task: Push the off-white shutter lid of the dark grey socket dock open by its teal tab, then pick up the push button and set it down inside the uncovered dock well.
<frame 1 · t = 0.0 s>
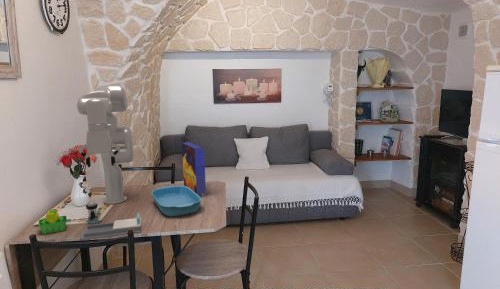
hand: (101, 165, 155), 31 cm above the table, tool pointing down, fingers open, 9 cm apart
fruit basket: (54, 231, 163), on the table
shutter lid: (127, 220, 163), point 4 cm above the table, slide at 0.0 cm
cereal box: (194, 192, 217), on the table
casserole dish: (176, 207, 192), on the table
dock: (127, 228, 164), on the table
push button: (95, 222, 172), on the table
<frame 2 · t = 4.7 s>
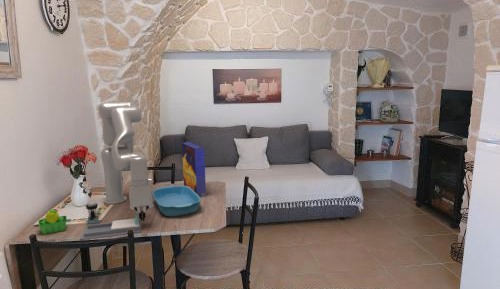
hand: (142, 219, 165), 4 cm above the table, tool pointing down, fingers closed
shutter lid: (125, 220, 163), point 4 cm above the table, slide at 0.8 cm, touching gripper
everything else where it was.
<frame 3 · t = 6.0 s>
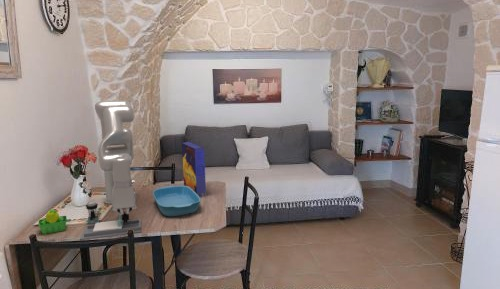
hand: (125, 221, 163), 4 cm above the table, tool pointing down, fingers closed
shutter lid: (108, 222, 161), point 4 cm above the table, slide at 8.3 cm, touching gripper
everything else where it was.
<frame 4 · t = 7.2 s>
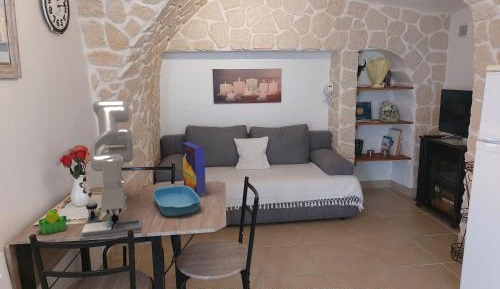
hand: (115, 222, 162), 4 cm above the table, tool pointing down, fingers closed
shutter lid: (97, 223, 160), point 4 cm above the table, slide at 12.9 cm, touching gripper
everything else where it was.
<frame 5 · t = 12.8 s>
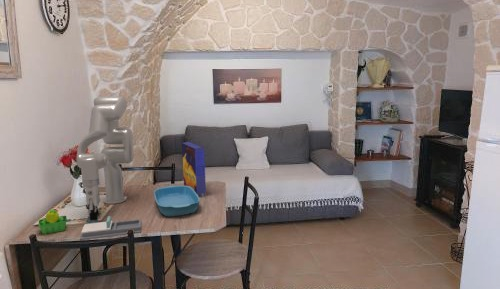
hand: (94, 217, 172), 2 cm above the table, tool pointing down, fingers closed on push button, 3 cm apart
shutter lid: (97, 223, 160), point 4 cm above the table, slide at 13.1 cm
push button: (95, 222, 172), on the table, touching gripper
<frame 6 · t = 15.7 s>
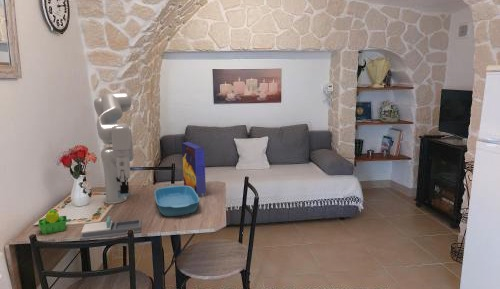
hand: (124, 191, 161), 18 cm above the table, tool pointing down, fingers closed on push button, 3 cm apart
push button: (125, 196, 161), point 16 cm above the table, touching gripper
when the fingers open (3 cm above the table, at t = 18.6 s): push button stays where it is, resting on dock.
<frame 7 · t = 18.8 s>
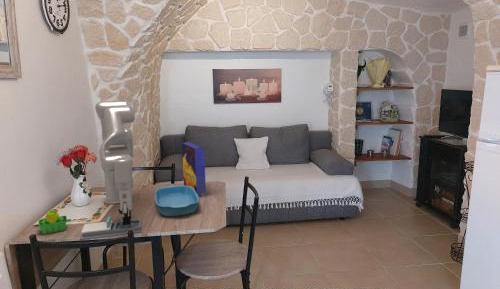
hand: (127, 221, 163), 3 cm above the table, tool pointing down, fingers open, 5 cm apart
push button: (127, 227, 164), resting on dock
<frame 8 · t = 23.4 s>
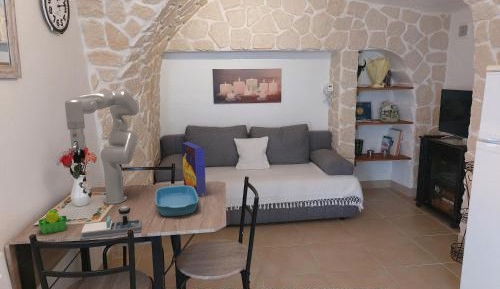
hand: (79, 160, 170), 30 cm above the table, tool pointing down, fingers open, 9 cm apart
at the end: shutter lid slide at 13.1 cm; push button 0.3 cm off-centre on the dock, point 0.3 cm above the dock's base; push button tilted 0° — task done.
